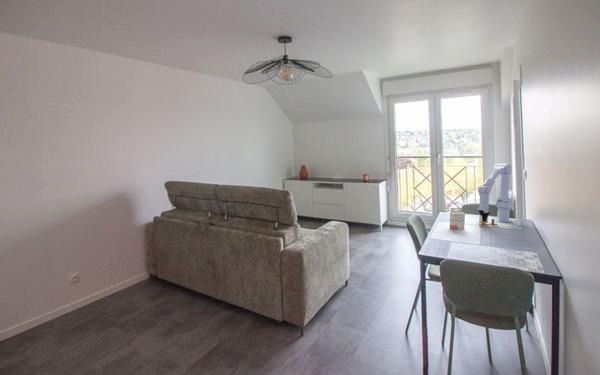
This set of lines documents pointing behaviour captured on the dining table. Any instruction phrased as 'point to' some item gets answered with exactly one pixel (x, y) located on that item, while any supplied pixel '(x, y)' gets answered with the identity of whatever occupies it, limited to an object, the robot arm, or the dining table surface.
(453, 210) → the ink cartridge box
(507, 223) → the mat
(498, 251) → the dining table surface
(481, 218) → the sleeve
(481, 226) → the pin board
